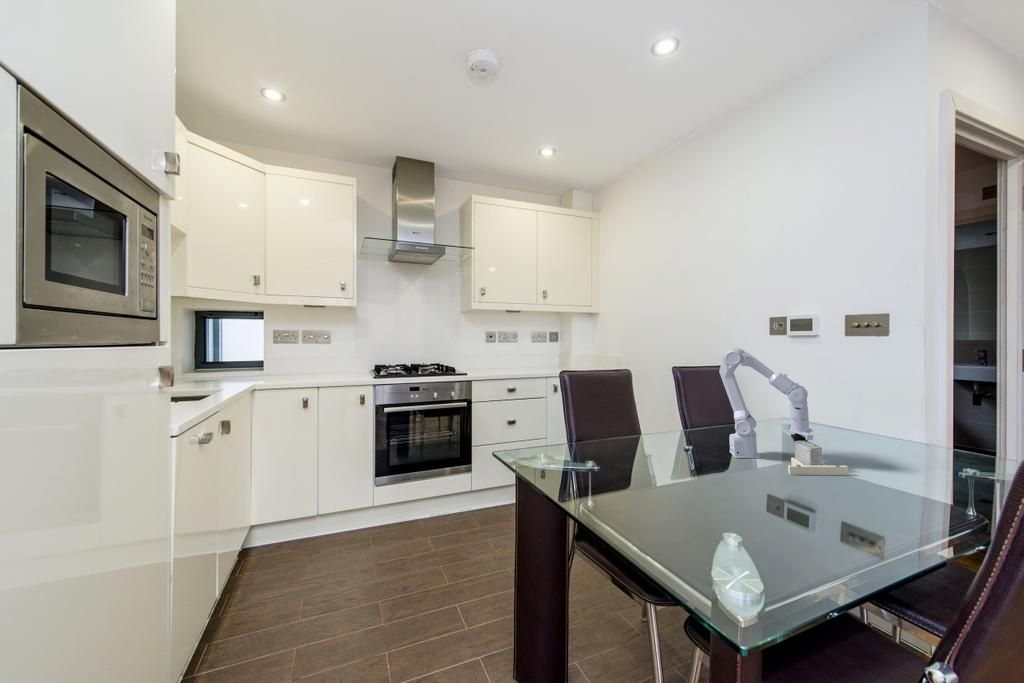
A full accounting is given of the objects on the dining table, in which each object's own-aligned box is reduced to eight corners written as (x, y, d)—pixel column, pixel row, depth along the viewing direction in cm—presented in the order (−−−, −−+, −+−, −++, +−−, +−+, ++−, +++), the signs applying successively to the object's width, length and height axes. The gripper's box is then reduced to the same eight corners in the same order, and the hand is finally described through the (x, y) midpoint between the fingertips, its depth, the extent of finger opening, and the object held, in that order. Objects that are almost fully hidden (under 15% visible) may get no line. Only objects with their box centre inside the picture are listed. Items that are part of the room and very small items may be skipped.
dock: (790, 474, 141) (789, 465, 141) (776, 464, 151) (776, 455, 151) (848, 475, 137) (848, 466, 137) (830, 464, 148) (830, 455, 147)
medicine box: (822, 470, 143) (822, 447, 142) (810, 471, 143) (810, 448, 142) (805, 461, 151) (806, 439, 150) (794, 462, 150) (794, 440, 150)
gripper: (821, 422, 143) (823, 459, 143) (801, 413, 157) (803, 446, 157) (799, 423, 144) (801, 459, 145) (781, 413, 158) (783, 447, 159)
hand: (801, 453), depth 151 cm, fingers closed, pressing on medicine box
